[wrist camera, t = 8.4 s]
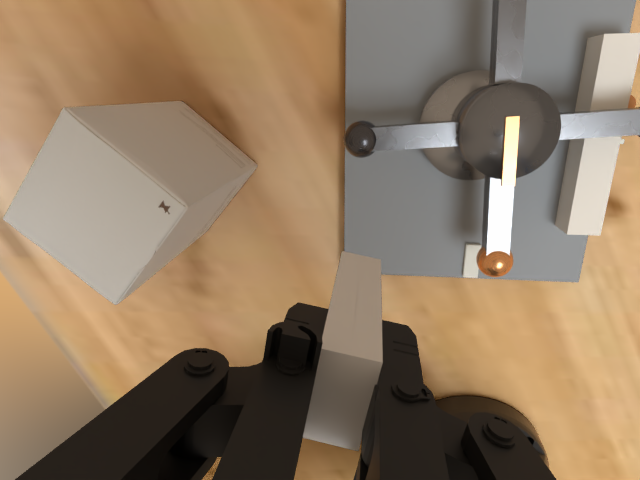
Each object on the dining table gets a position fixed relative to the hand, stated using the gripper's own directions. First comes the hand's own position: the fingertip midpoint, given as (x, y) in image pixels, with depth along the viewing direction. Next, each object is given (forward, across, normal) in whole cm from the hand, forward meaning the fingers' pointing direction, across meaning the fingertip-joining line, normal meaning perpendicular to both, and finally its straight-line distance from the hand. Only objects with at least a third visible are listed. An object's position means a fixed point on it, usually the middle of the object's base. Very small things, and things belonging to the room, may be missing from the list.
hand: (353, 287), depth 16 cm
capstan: (+21, +8, +6) cm, 23 cm away
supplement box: (+23, -16, -2) cm, 28 cm away
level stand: (+22, +7, +5) cm, 24 cm away
